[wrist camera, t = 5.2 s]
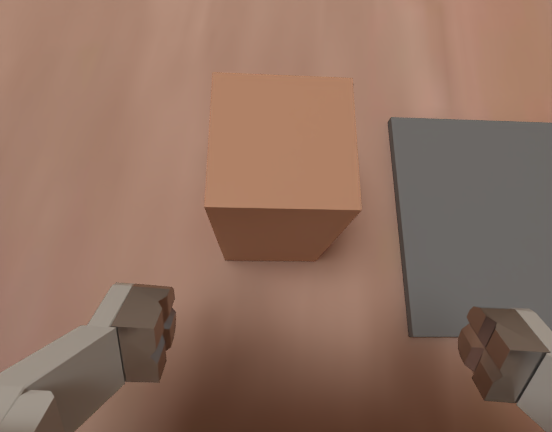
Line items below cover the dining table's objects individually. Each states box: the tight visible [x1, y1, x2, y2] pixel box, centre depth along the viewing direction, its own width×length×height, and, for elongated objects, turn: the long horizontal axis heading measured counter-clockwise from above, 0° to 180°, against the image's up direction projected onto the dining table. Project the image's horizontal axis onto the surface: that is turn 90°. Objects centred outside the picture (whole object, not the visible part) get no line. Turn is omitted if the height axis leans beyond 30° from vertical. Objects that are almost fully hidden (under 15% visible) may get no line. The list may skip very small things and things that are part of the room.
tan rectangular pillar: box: [204, 72, 362, 261], centre depth 18 cm, size 5×5×10 cm
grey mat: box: [388, 117, 552, 337], centre depth 24 cm, size 14×14×1 cm
